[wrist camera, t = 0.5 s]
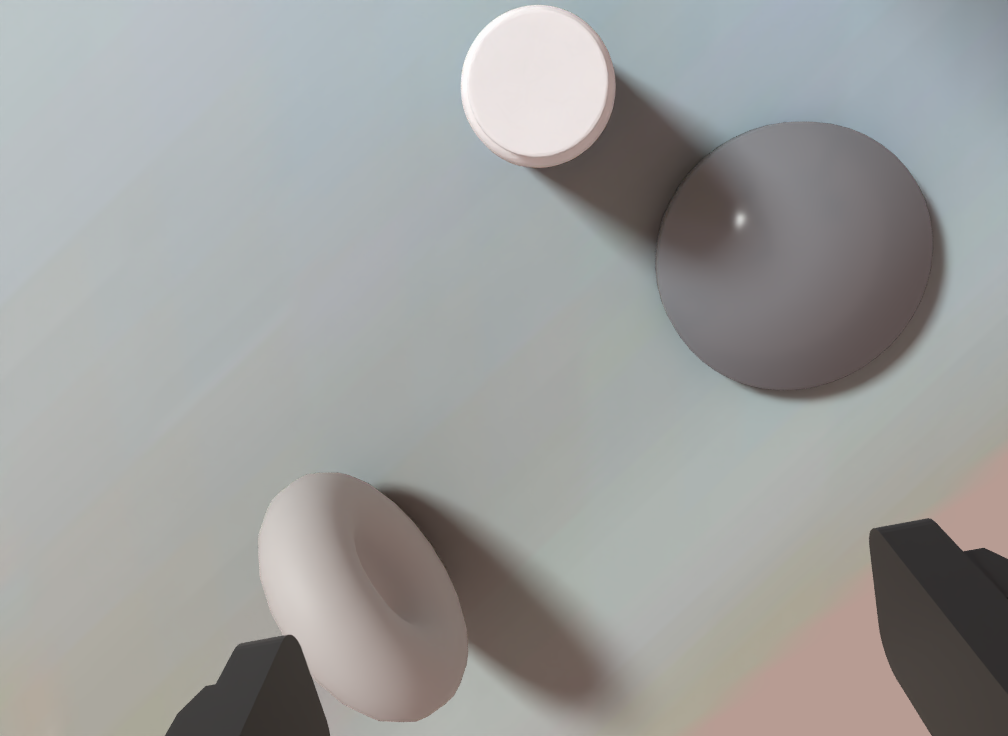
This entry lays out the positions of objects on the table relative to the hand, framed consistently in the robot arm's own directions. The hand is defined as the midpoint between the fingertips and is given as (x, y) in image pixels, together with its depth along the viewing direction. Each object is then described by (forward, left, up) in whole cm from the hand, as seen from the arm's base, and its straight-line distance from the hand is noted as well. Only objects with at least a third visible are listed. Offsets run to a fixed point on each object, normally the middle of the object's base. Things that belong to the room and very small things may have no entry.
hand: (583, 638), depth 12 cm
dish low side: (0, +9, -23) cm, 25 cm away
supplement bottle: (-8, +1, -23) cm, 25 cm away
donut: (+8, -9, -23) cm, 26 cm away
